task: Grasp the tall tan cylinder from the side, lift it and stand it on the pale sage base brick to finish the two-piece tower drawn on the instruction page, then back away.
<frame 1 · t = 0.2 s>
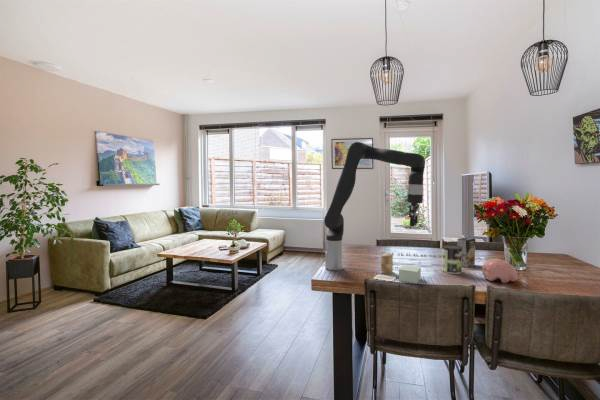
hand: (413, 225, 165), 29 cm above the table, tool pointing down, fingers open, 8 cm apart
instruction page: (384, 278, 171), on the table
base brick: (409, 279, 168), on the table
tan cylinder: (386, 272, 181), on the table
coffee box: (465, 265, 194), on the table
pink piggy bank: (499, 281, 164), on the table
coffee can: (451, 271, 181), on the table
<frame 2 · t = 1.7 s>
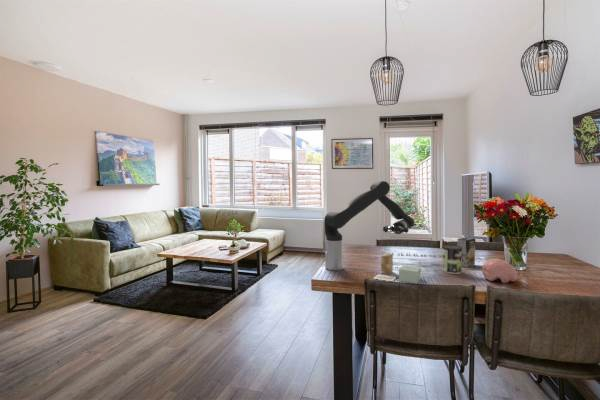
hand: (392, 231, 189), 22 cm above the table, tool horizontal, fingers open, 8 cm apart
nothing on the table moved.
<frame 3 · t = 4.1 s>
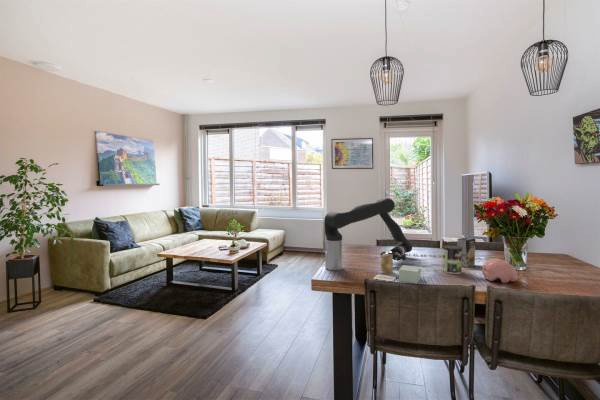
hand: (390, 258, 186), 6 cm above the table, tool horizontal, fingers open, 8 cm apart
nothing on the table moved.
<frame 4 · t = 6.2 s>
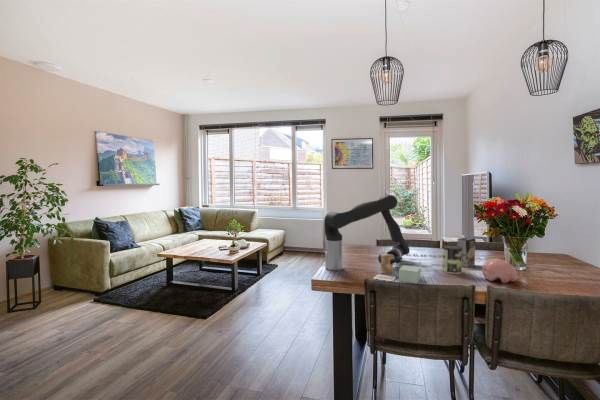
hand: (385, 262, 178), 7 cm above the table, tool horizontal, fingers closed on tan cylinder, 5 cm apart
tan cylinder: (386, 272, 181), on the table, touching gripper
everything else where it was.
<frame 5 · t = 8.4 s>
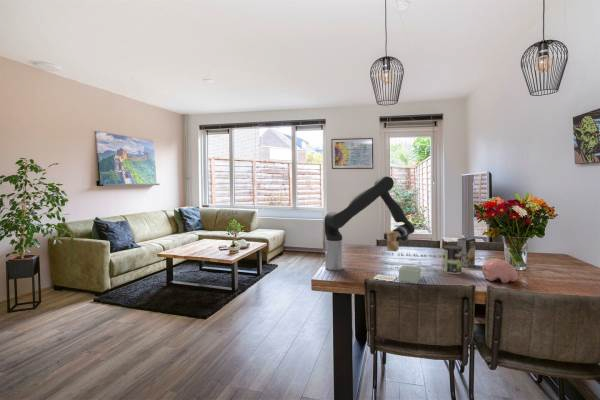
hand: (391, 239, 174), 20 cm above the table, tool horizontal, fingers closed on tan cylinder, 5 cm apart
tan cylinder: (392, 250, 177), point 13 cm above the table, touching gripper
everything else where it was.
when the fingers open (14 cm above the table, at t = 10.9 s): tan cylinder drops 1 cm, resting on base brick.
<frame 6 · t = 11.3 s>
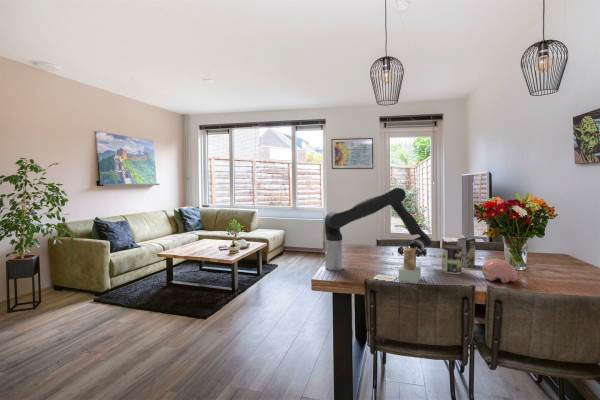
hand: (409, 253, 165), 14 cm above the table, tool horizontal, fingers open, 8 cm apart
tan cylinder: (409, 268, 167), point 6 cm above the table, touching base brick
everything else where it was.
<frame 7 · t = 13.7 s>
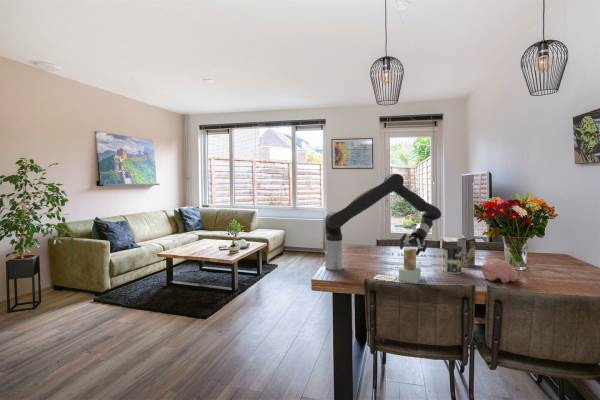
hand: (408, 251, 177), 13 cm above the table, tool tilted 55°, fingers open, 8 cm apart
nothing on the table moved.
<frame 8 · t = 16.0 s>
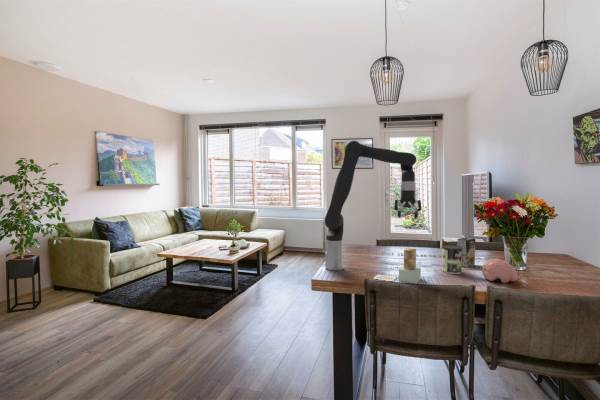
hand: (407, 218, 182), 30 cm above the table, tool pointing down, fingers open, 8 cm apart
nothing on the table moved.
at the end: tan cylinder 0.0 cm from the base brick (horizontally); tan cylinder touching base brick; tan cylinder tilted 0° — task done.
